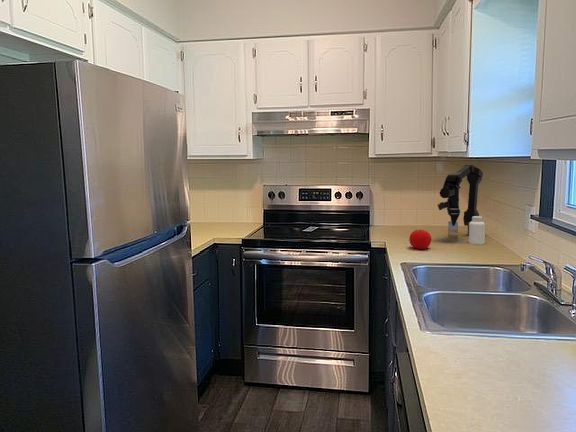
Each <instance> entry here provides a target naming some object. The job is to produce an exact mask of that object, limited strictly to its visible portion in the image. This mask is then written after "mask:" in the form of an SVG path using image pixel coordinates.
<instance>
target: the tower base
mask: <svg viewBox="0 0 576 432" xmlns="http://www.w3.org/2000/svg"><path fill="white" fill-rule="evenodd" d="M458 236H459V234H458V235H448V234H447V239H448V241H458V239H459V237H458Z"/></svg>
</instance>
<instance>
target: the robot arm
mask: <svg viewBox="0 0 576 432" xmlns="http://www.w3.org/2000/svg"><path fill="white" fill-rule="evenodd" d="M483 175H484V172H483V171H482V170H481V169H480V168H479V167H476V166H475V165H474V164H464V165H463V167H461V168H460V169H459V170H458V171H456V172H452V173H449V174H447V176H446V178H445V179H444V183H443V185H442V188H441V189H440V191H439V195H440V197H441V198H442V199H447V201H446V200H445V201H442V202H439V203H438V204H437V205H436V206H437V207H438V210H439V211H441V210H444V209H446V211H447V215H448V216H449V217H450V221H452V226H455V223H456V221H458V219H459V217H460V215H461V210H460V189H461V186H460V185H461V183H462V182H463V179H464V178H465V177H466V181H467V182H468V184H469V188H468V197H467V198H468V199H467V202H468V203H467V208H466V210H465V211H464V212H463V218H462V221H463V225H464V226H467V232H466V236H467V237H469V223H470V222H471V221H472V216H480V213H479V211H478V209H477V208H478V207H477V205H478V195H479V194H478V193H479V185H480V183H481V182H482V180H483V179H482V178H483V177H484V176H483Z"/></svg>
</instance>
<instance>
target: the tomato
mask: <svg viewBox="0 0 576 432" xmlns="http://www.w3.org/2000/svg"><path fill="white" fill-rule="evenodd" d="M408 239H409V240H408V241H409V244H410V245H411V247H412V248H414V249H418V250H426V249H428V248H429V246H430V245H431V243H432V235H431V233H429V232H428V231H427V230H425V229H414V230H413V231H412V232H411V233H410V235H409V238H408Z"/></svg>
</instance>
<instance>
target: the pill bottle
mask: <svg viewBox="0 0 576 432" xmlns="http://www.w3.org/2000/svg"><path fill="white" fill-rule="evenodd" d="M485 229H486V224H485V221H483V216H480V215H479V216H472V221H471V222H470V223H469V236H468V243H469V244H471V245H484V244H485V243H486V242H485V239H486V238H485V234H486V230H485Z"/></svg>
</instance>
